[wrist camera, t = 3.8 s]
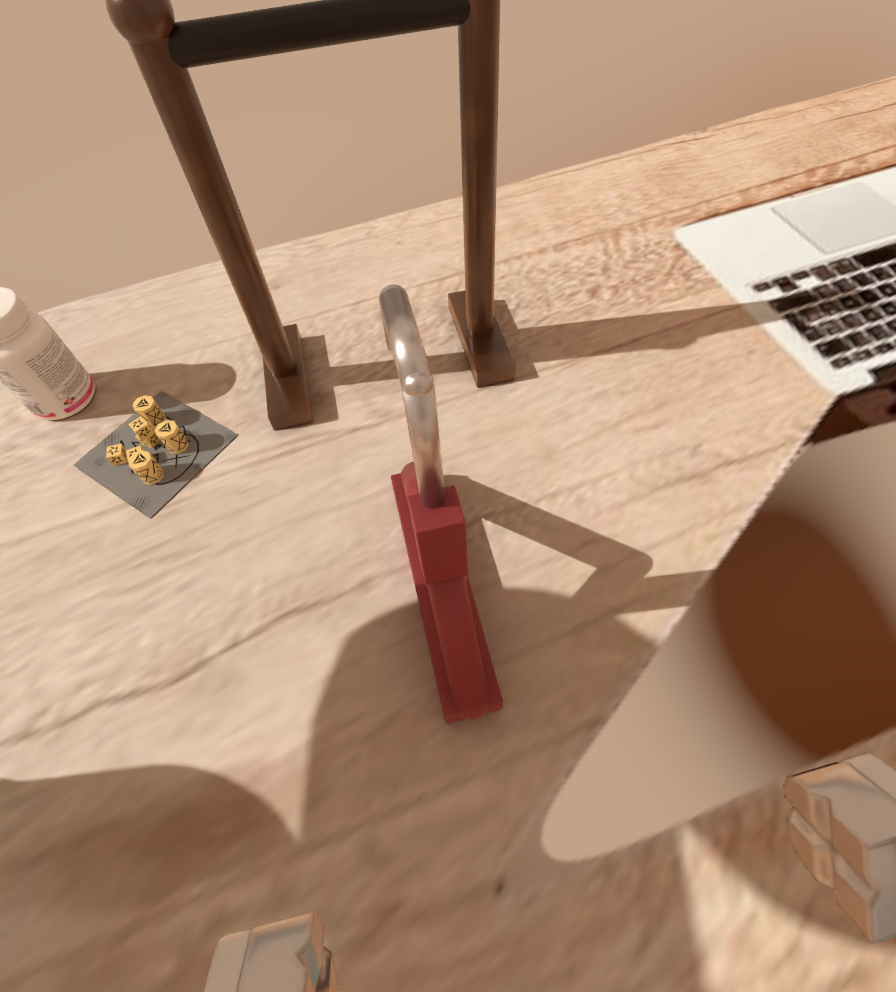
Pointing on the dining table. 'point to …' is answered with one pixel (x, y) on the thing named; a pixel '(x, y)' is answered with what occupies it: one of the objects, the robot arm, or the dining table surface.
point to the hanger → (436, 532)
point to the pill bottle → (39, 363)
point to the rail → (164, 65)
